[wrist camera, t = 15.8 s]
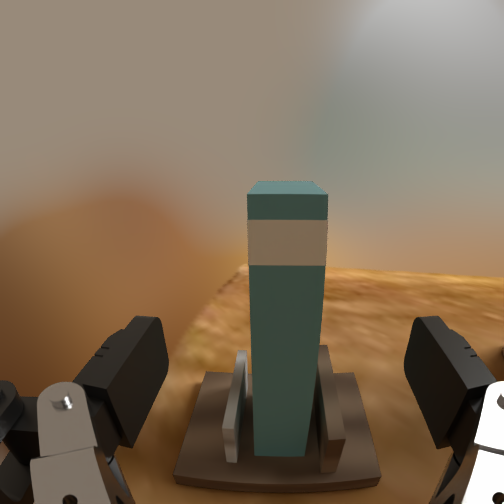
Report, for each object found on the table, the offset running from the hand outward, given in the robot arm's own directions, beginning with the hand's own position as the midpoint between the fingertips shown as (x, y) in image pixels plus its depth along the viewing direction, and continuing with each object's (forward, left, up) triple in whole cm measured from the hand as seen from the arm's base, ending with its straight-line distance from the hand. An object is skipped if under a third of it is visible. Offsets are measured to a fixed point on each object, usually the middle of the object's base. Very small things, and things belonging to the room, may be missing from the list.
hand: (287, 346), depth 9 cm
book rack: (+9, -8, -18) cm, 21 cm away
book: (+9, -8, -16) cm, 20 cm away
